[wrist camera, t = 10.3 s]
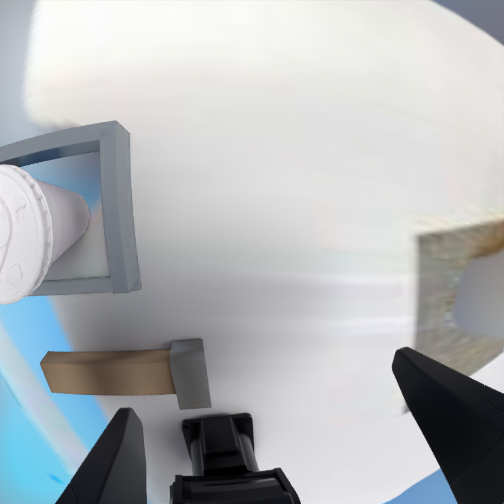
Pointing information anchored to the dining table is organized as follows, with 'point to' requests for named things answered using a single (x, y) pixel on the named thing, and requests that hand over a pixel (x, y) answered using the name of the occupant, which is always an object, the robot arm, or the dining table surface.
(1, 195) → the smoothie
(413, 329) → the dining table surface
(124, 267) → the endcap cradle
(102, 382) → the capped slat
